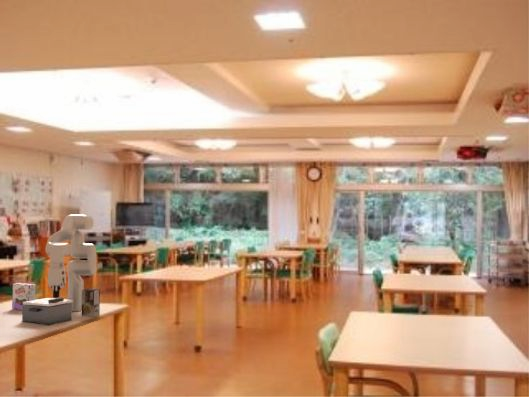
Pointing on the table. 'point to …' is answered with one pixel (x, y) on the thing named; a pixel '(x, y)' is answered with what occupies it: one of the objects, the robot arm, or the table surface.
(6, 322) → the table surface
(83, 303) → the coffee box
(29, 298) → the candy box
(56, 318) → the grey storage box
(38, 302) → the lid
